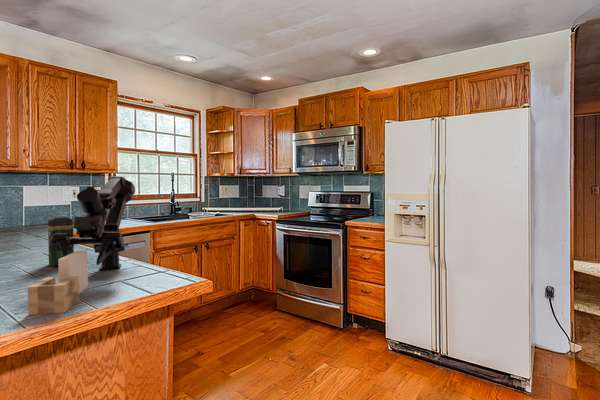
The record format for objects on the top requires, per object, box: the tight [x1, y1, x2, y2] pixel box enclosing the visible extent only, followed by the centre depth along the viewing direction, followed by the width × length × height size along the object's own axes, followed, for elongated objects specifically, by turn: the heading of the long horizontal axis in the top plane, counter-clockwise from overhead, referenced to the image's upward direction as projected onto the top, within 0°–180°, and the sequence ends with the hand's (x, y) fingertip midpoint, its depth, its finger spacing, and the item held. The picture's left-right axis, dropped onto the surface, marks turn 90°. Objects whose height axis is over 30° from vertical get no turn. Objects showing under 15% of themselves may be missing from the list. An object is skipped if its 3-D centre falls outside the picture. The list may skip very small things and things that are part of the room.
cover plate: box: [57, 249, 89, 294], centre depth 95 cm, size 12×2×11 cm, turn 12°
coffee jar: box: [47, 215, 75, 267], centre depth 131 cm, size 10×8×19 cm
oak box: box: [27, 276, 80, 316], centre depth 85 cm, size 8×7×6 cm
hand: (81, 264), depth 100 cm, fingers open, 8 cm apart
